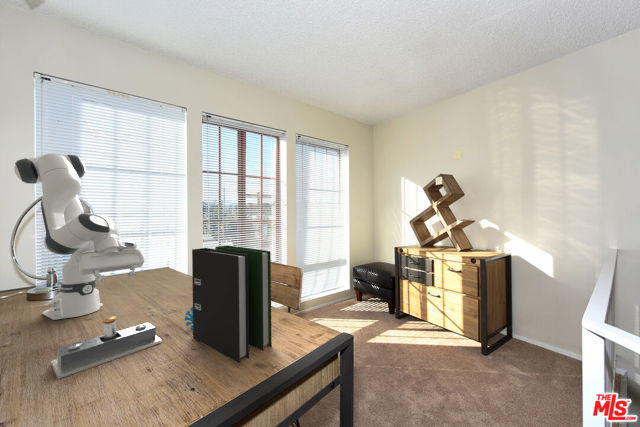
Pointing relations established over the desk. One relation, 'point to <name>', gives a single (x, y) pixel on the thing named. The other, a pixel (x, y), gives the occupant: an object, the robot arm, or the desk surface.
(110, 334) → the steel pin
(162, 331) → the desk surface
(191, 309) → the gear
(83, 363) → the grey slotted bar
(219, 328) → the binders
